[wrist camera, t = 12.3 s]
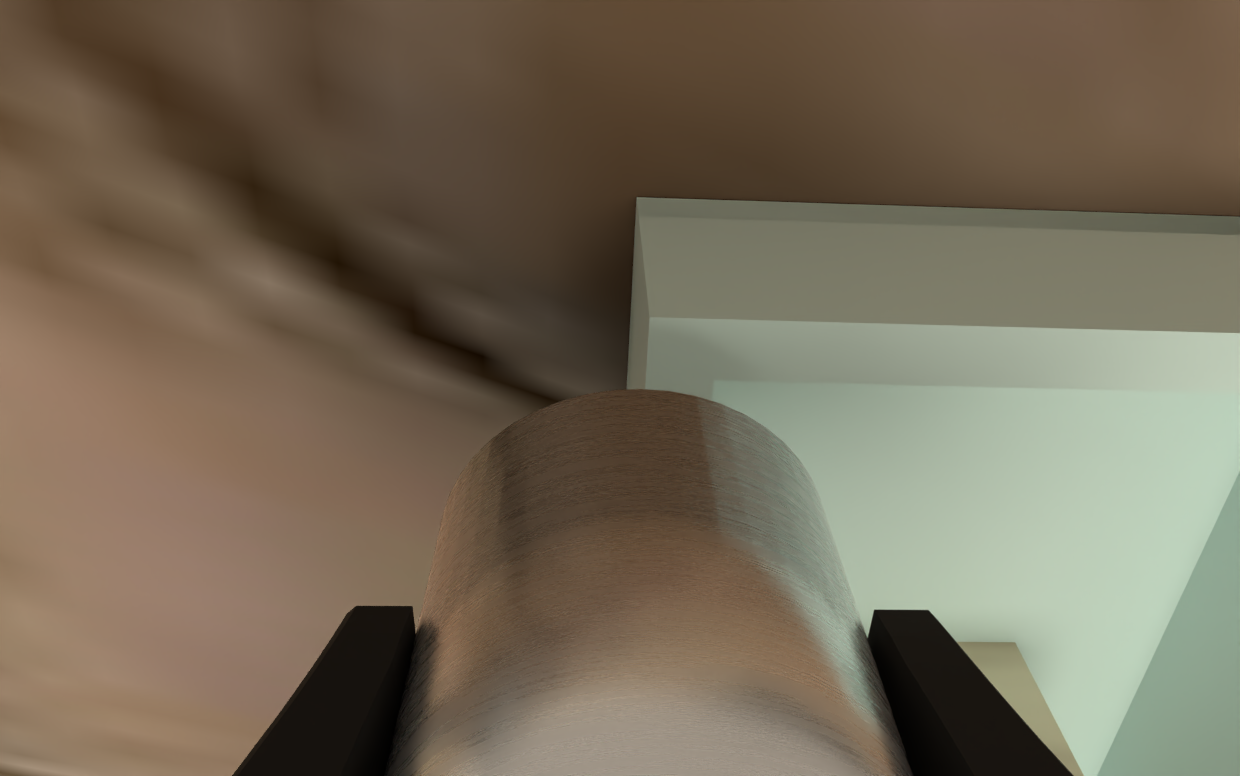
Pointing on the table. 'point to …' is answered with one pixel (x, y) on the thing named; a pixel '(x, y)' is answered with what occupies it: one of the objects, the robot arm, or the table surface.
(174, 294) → the table surface
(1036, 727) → the maple block
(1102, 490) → the tote
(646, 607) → the metal cylinder
